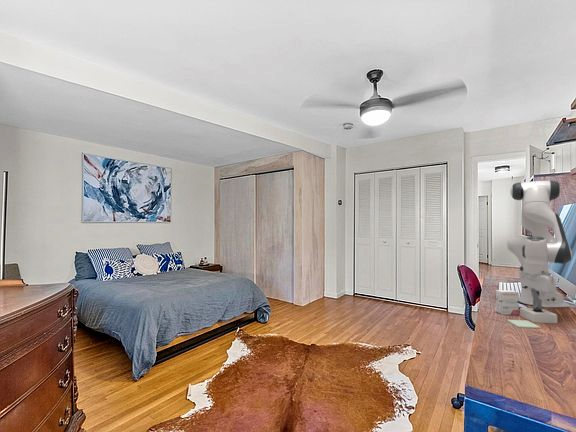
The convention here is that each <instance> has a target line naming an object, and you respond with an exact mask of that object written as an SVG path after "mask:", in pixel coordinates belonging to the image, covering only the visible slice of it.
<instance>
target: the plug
mask: <svg viewBox="0 0 576 432" xmlns="http://www.w3.org/2000/svg"><path fill="white" fill-rule="evenodd" d="M539 293H540V292H539V291H537V290H533V305H532V307H533V311H535V312H542V309H543V307H542V300H540V299H538V295H539Z"/></svg>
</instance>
